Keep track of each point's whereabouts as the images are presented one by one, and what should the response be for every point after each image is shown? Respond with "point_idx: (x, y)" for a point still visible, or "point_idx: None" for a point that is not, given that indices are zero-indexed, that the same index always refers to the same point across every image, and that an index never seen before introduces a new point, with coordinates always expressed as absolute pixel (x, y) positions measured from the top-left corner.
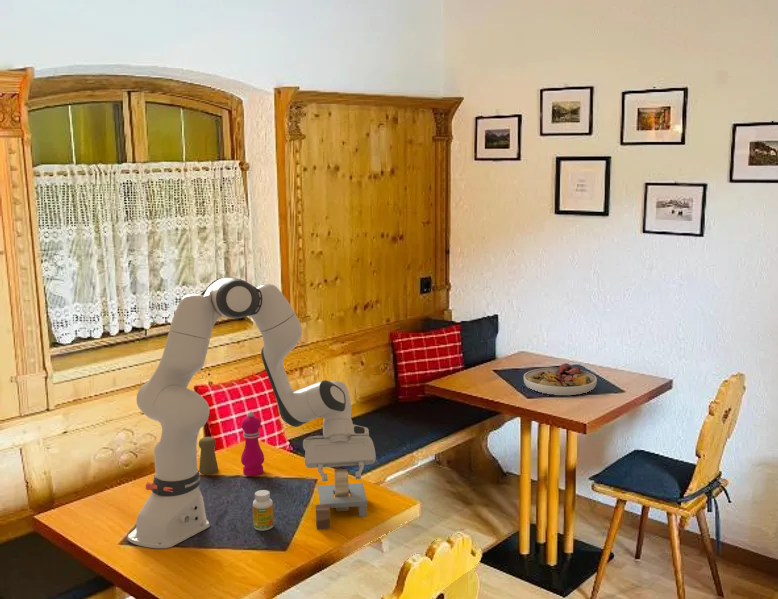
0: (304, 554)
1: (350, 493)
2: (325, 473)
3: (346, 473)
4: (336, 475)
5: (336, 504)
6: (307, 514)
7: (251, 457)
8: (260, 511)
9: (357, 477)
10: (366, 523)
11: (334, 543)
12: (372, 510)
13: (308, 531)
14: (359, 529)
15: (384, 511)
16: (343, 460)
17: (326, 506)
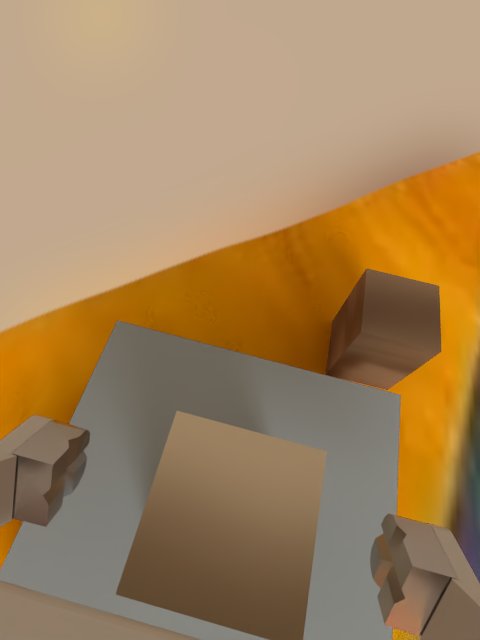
0: (444, 200)
1: None
2: (435, 573)
3: (191, 427)
4: (310, 448)
5: (299, 372)
6: (424, 520)
7: None
8: None
9: (75, 426)
10: (171, 301)
11: (339, 218)
12: None
13: None
14: (220, 268)
15: (25, 378)
16: (152, 633)
17: (379, 306)
